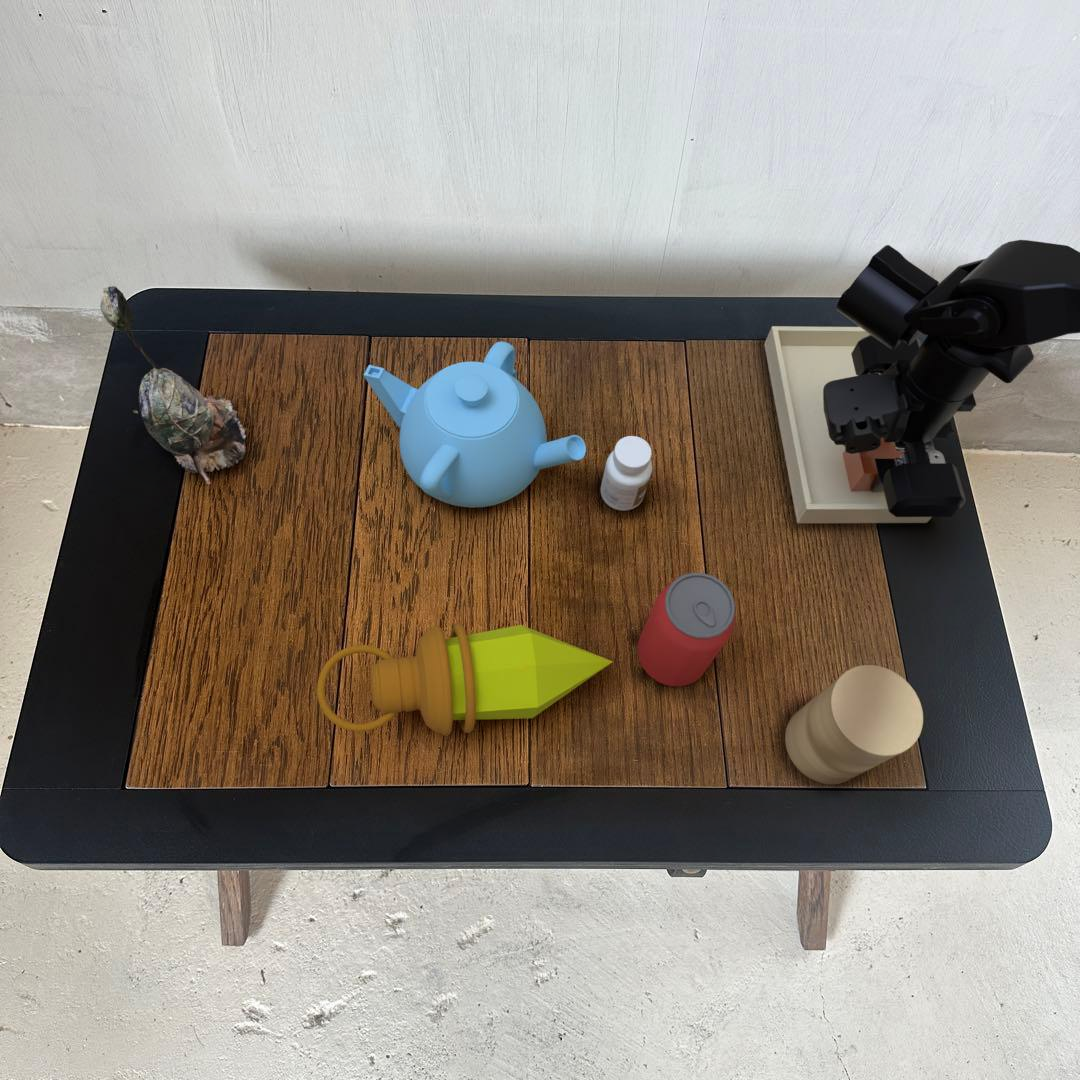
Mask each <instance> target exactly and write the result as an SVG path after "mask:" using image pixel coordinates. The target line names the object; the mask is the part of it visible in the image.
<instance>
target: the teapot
mask: <svg viewBox="0 0 1080 1080" xmlns="http://www.w3.org/2000/svg"><path fill="white" fill-rule="evenodd" d="M515 362H516V349H515V347H514V345H512V344H511V343H509V342H507V341H502V340H501V341H496V342H495V343H494V344H493V345H492V346H491V348H490V349H489V351H488V352H487V354H486V356H485V358H484V360H483V362H481V361H462V362H458V363H454V364H452V365H448V366H446V367H444V368H442V369H440V370H439V371H437V372H436V373H435V374H433V375H432V376H431V377H429V378H428V379H427V380H426V381H424V383H422V385H421V386H420V387H419V388H416V387H414V386H412V385H410V384H408V383H406V382H405V381H403V380H402V379H400V378H398V377H397V376H395V375H394V374H392V373H390V372H388V371H387V370H386V369H385V368H384V367H380V366H377V365H375V366H374V365H372V364H368V366H367V367H366V369H365V371H364V373H363V378H364V379H365V380H366V382H367V384H369V386H370V387H371V389H372V391H373V392H374V394H375V395H376V396H377V397H378V399H379V400H380V402H381V403H382V405H383V407H384V408H385V409H386V411H387V412H388V414H389V416H390V418H392V419H393V421H394V423H395V424H396V426H397V427H398V428H400V431H399V436H398V437H399V438H398V439H399V444H398V445H399V453H400V458H401V461H402V465H403V466H404V469H405V471H406V473H407V474H408V476H409V477H410V479H411V480H412V481H413V482H414V483H415V484H416V485H417V487H419V488H420V489H421V490H422V491H423V493H425V494H426V495H429V496H431V497H432V498H433V499H436V500H439V501H440V502H443V503H445V504H449V505H452V506H454V507H455V506H456V507H460V508H485V507H492V506H495V505H500V504H502V503H504V502H506V501H507V502H508V501H509V500H511V499H512V498H515V497H516V496H518V495H519V494H521V493H522V492H523V491H524V490H526V488H528V487H529V485H530V484H531V483H532V482H533V481H534V480H535V478H536V477H537V476H538V474H539V472H540V471H541V470H544V469H547V468H552V467H556V466H560V465H564V464H568V463H572V462H573V463H574V462H576V461H581V460H583V458H584V457H585V456H586V453H587V446H586V442H585V441H584V439H583V438H582V437H581V436H579V435H578V434H571V435H569V436H564V437H561V438H557V439H555V440H551V441H548V435H547V428H546V423H545V420H544V417H543V414H542V411H541V409H540V407H539V404H538V403H537V401H536V400H535V398H534V396H533V394H532V393H531V392H530V391H529V389H528V388H527V387H526V386H524V385H523V384H522V383H521V382H520V381H519V380H518V379H517V378H518V372H517V371H516V369H515Z"/></svg>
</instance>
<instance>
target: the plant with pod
mask: <svg viewBox="0 0 1080 1080" xmlns="http://www.w3.org/2000/svg"><path fill="white" fill-rule="evenodd" d="M102 293H103V294H102V296H101V301H100V305H99V306H100V311H101V314H102V316H103V318H104V319H105V320H106V322H107V323H108V324H109V326H111V327H113V328H114V330H116V331H117V332H120V333H126V334H127V336H128V337H129V339H131V341H132V342H133V343H134V345H135V347H137V348H138V349H139V350H140V352H141V354H142V355H143V356H144V358H146V360H147V361H148V362H149V364H151V365H152V367H153V368H152V369H150V370H149V371H148V373H146V374H145V375H144V376H143V377H142V378H141V383H140V386H139V392H138V404H139V411H140V415H141V419H142V421H143V423H144V426H145V428H146V430H147V432H148V433H149V434H150V436H151V437H152V438H154V439H155V441H156V442H157V443H159V445H160V447H162V448H163V449H164V450H165V451H167V452H169V453H170V454H171V455H172V456H174V458H175V459H176V461H175V462H178V465H181V467H182V468H183V470H184V472H188V473H190V474H191V473H192V474H193V475H194V474H200V476H201V477H202V478H203V480H204V481H205V484H206V485H208V486H209V485H210V484H211V480H210V478H209V476H208V474H207V472H211V473H212V472H214V470H215V468H216V470H217V471H220V469H224V468H225V469H226V468H230V467H234V466H235V464H236V465H238V464H239V461H241V460H243V458H245V455H246V453H247V452H246V451H247V450H246V449H247V447H246V442H245V441H246V437H247V435H246V434H245V432H246V430H247V428H245V427H243V424H241V419H240V418H237V416H238V413H239V411H237V410H234V409H233V405H232V400H231V399H226V398H225V397H224V396H222V397H220V396H219V395H216V396H213V395H212V394H211V393H210V392H208V397H205V396H203V395H202V393H201V392H200V391H199V390H198V389H196V388H195V387H193V385H191V384H190V383H189V382H188V381H187V380H185V379H184V378H183V377H182V376H180V375H178V374H177V373H175V372H174V371H173V370H170V369H168V368H166V367H165V368H164V367H161V368H160V366H158V364H156V363H155V361H154V360H153V358H152V357H150V355H149V354H148V352H147V351H146V350H145V349H144V348H143V346H142V345H141V344H140V342H139V341H138V339H137V338H136V336H135V335H134V333H133V332H132V330H131V328H130V327H132V325H133V324H134V323H133V322H134V316H133V312H132V308H131V306H130V305H129V303H128V300H127V298H126V297H125V295H124V293H123V292H122V291H121V290H120V289H119V288H117V287H116V286H114V285H112V286H107V287H104V288H103V291H102ZM139 411H138V410H136V409H133V413H135V414H137V415H139V413H138V412H139Z"/></svg>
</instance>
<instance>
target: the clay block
mask: <svg viewBox="0 0 1080 1080" xmlns="http://www.w3.org/2000/svg"><path fill="white" fill-rule="evenodd" d="M902 452H903V451H897V450H895V448H894V444H893V442H884V439H883V437H882V438H881V445H880V447H879V448H877V449H875V450H872V451H866V452H860V453H854V454H850V453H847V452H846V450H845V451H844V452H843V458H844V463H845V467H846V472H847V476H848V481H849V485H850V490H851V491H871V490H870V488H871V485H872V483H873V481H874V479H875V478H876V476H877V475H878V472H877V468H876V463H875V459H895V458H899V459H900V455H901V453H902Z"/></svg>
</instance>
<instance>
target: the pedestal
mask: <svg viewBox="0 0 1080 1080" xmlns="http://www.w3.org/2000/svg"><path fill="white" fill-rule="evenodd" d="M923 711H924V710H923V707H922V704H921V701H920V698H919V697H918V695H917V692H916V691H915V690H914V688H913V687H912V686H911V684H910V683H909V682H908V681H907V680H906V679H905V678H904V677H902V676H901V675H900V674H898V673H897V672H895V671H894V670H892V669H889V668H887V667H883V666H880V665H876V664H862V665H857V666H854V667H851V668H849V669H847V670H846V671H845V672H843V673H842V674H840V675H839V676H838V677H837V678H836V679H835V680H833V681H832V682H831V683H829V685H827V686H826V687H825V688H824V689H823V690H822V691H820V692H819V693H818V694H817V695H815V696H814V697H813V698H812V699H811V700H809V701H807V703H806V704H804V705H803V706H802V707H801V708H800V709H798V710H797V711H796V712H795V713H794V714H793V715H792V716H791V718H790V719H789V721H788V723H787V726H786V728H785V735H784V738H785V739H784V740H785V741H784V743H785V748H786V751H787V754H788V757H789V759H790V760H791V762H792V764H793V765H794V766H795V767H796V769H797V770H798V771H799V772H800V773H801V774H802V775H804V776H805V777H807V778H808V779H810V780H812V781H814V782H816V783H819V784H823V785H839V784H843V783H846V782H847V781H850V780H852V779H854V778H855V777H858V776H860V775H861V774H864V773H865V772H867V771H870V770H871V769H873V768H875V767H877V766H879V765H881V764H883V763H885V762H887V761H889V760H891V759H893V758H894V757H897V756H899V755H900V754H902V753H905V752H906V751H908V750H909V749H911V748H912V747H913V746H914V745H915V744H916V742H918V739H919V738H920V736H921V734H922V730H923V726H924V712H923Z"/></svg>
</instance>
